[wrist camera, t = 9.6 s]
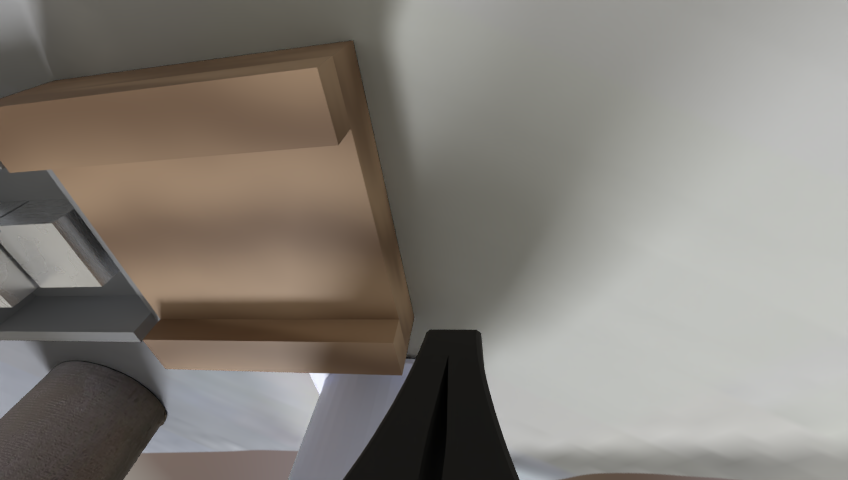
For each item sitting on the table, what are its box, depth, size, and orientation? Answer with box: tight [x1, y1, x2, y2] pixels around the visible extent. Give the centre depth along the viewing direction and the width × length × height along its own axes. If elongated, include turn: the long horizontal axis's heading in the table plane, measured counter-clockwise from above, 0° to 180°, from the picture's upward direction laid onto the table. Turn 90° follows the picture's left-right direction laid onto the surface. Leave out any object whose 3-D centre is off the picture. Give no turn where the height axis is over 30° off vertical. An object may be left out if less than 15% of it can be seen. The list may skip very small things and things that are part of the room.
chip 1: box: [0, 201, 39, 307], centre depth 22 cm, size 4×4×2 cm
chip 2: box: [0, 198, 120, 288], centre depth 22 cm, size 4×4×2 cm
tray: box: [0, 161, 160, 342], centre depth 22 cm, size 12×12×4 cm
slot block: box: [0, 40, 414, 376], centre depth 20 cm, size 15×14×4 cm
